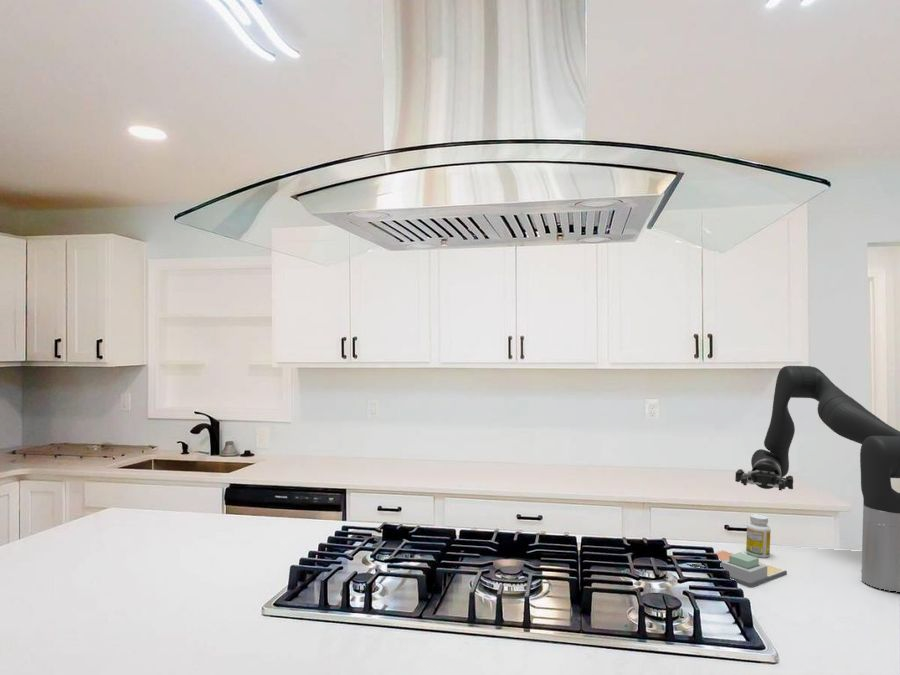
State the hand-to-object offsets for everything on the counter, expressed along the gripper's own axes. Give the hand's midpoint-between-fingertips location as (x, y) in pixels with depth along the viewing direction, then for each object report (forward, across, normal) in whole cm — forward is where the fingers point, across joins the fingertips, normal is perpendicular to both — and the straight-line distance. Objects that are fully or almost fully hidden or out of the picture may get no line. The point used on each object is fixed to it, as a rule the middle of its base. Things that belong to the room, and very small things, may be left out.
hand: (762, 484), depth 165 cm
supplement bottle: (+12, 0, +16) cm, 19 cm away
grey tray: (+26, -3, +15) cm, 31 cm away
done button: (+32, -1, +13) cm, 34 cm away
